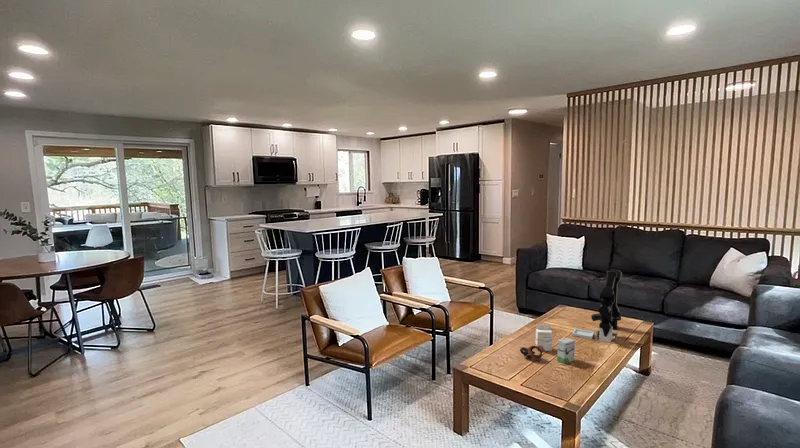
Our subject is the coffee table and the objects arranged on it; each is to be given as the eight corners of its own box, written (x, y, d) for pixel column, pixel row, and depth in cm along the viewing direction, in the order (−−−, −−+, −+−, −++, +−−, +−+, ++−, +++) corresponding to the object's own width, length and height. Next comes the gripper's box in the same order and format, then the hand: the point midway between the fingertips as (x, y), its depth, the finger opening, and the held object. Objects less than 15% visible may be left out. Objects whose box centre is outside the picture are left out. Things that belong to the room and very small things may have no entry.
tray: (574, 331, 268) (574, 328, 267) (594, 334, 261) (594, 331, 261) (572, 336, 259) (572, 333, 259) (592, 339, 253) (592, 336, 253)
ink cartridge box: (537, 350, 238) (537, 326, 237) (535, 347, 243) (535, 323, 242) (552, 351, 237) (552, 327, 236) (549, 347, 242) (550, 324, 241)
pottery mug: (538, 355, 234) (543, 346, 229) (538, 368, 226) (543, 359, 221) (518, 349, 236) (522, 340, 231) (517, 362, 228) (521, 353, 223)
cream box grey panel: (599, 336, 258) (600, 323, 257) (612, 338, 254) (612, 325, 253) (599, 339, 253) (599, 326, 252) (611, 341, 250) (612, 328, 249)
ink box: (564, 363, 221) (564, 343, 220) (556, 360, 226) (557, 340, 224) (574, 360, 225) (575, 339, 224) (567, 357, 230) (568, 336, 228)
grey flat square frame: (596, 333, 263) (597, 330, 263) (617, 336, 257) (617, 333, 257) (594, 339, 253) (594, 336, 253) (615, 343, 247) (615, 340, 246)
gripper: (594, 304, 264) (593, 327, 265) (590, 313, 248) (589, 337, 250) (613, 307, 258) (612, 331, 259) (611, 316, 242) (610, 341, 244)
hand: (605, 335), depth 253 cm, fingers open, 6 cm apart
